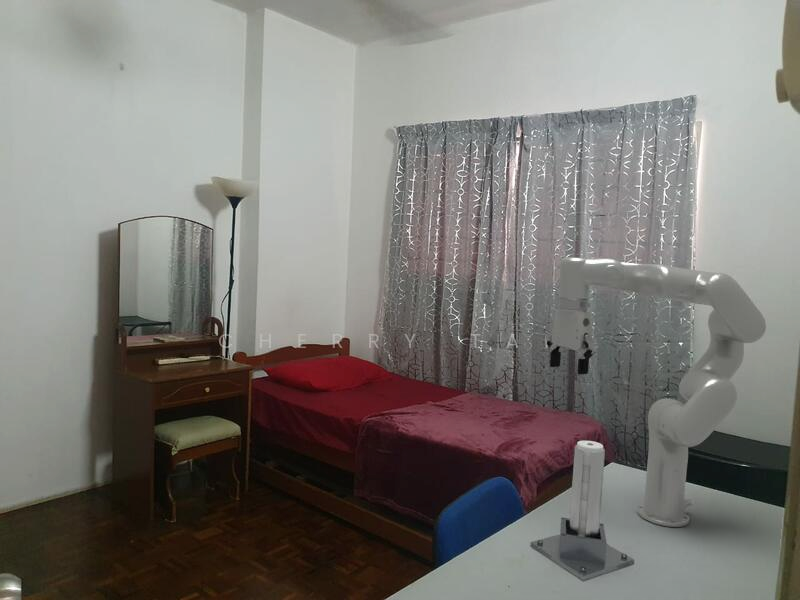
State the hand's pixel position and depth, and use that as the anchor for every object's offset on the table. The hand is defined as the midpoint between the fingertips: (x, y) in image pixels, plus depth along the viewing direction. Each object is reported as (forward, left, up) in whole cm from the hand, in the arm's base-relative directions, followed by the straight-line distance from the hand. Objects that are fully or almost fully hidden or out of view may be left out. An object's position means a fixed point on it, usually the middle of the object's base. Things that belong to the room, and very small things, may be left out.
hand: (568, 370), depth 153 cm
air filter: (+12, +19, -38) cm, 44 cm away
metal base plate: (+12, +19, -38) cm, 44 cm away
